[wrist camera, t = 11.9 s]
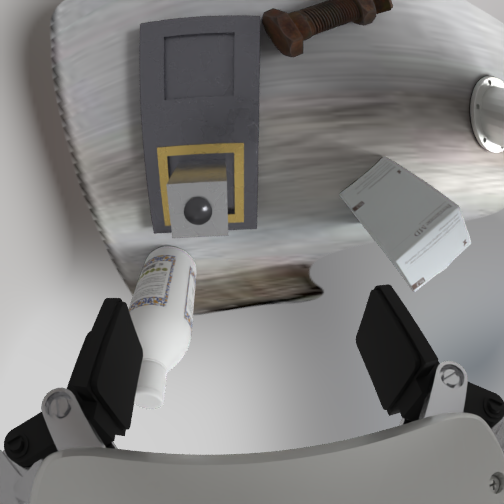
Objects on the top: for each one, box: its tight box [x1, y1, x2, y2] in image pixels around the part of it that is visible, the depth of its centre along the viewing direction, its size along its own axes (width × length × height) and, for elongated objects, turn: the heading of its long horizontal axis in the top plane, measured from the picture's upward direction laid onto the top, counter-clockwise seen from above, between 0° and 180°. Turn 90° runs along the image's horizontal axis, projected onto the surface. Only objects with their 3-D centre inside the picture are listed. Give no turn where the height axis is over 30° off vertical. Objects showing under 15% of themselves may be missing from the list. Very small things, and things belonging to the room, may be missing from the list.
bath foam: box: [129, 246, 196, 409], centre depth 29 cm, size 7×7×20 cm
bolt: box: [262, 0, 393, 57], centre depth 21 cm, size 6×5×15 cm
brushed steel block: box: [166, 160, 228, 238], centre depth 28 cm, size 5×5×8 cm
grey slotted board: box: [140, 16, 260, 233], centre depth 28 cm, size 12×24×2 cm, turn 179°
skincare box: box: [340, 157, 471, 292], centre depth 29 cm, size 8×6×15 cm
